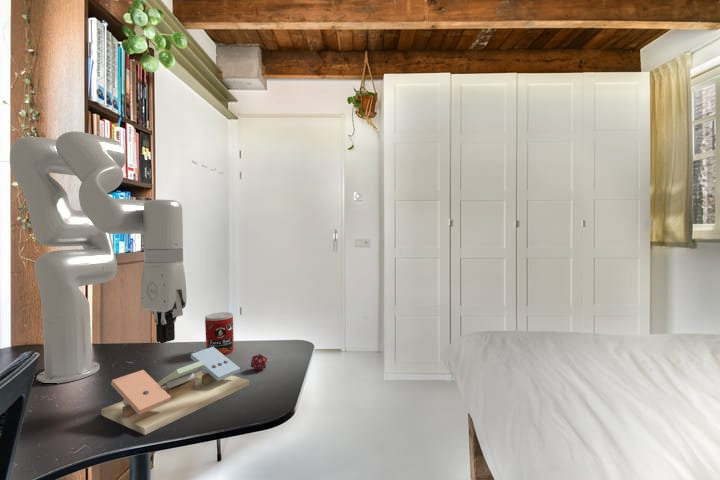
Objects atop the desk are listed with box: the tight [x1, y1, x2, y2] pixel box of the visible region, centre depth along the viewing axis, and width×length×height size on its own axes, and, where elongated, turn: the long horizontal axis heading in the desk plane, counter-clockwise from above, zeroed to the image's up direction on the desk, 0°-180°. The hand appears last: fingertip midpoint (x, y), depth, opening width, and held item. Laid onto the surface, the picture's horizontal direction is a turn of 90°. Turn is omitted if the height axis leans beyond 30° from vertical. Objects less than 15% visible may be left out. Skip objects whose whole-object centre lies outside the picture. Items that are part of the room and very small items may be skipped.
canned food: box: [204, 311, 235, 356], centre depth 111 cm, size 8×8×11 cm
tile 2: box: [156, 360, 204, 389], centre depth 80 cm, size 10×6×2 cm, turn 58°
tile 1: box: [110, 369, 171, 415], centre depth 73 cm, size 10×6×2 cm, turn 60°
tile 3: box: [190, 347, 241, 381], centre depth 87 cm, size 10×6×2 cm, turn 60°
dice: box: [250, 353, 268, 371], centre depth 96 cm, size 4×4×4 cm
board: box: [100, 370, 250, 436], centre depth 80 cm, size 15×24×3 cm, turn 149°
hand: (165, 340), depth 82 cm, fingers closed
